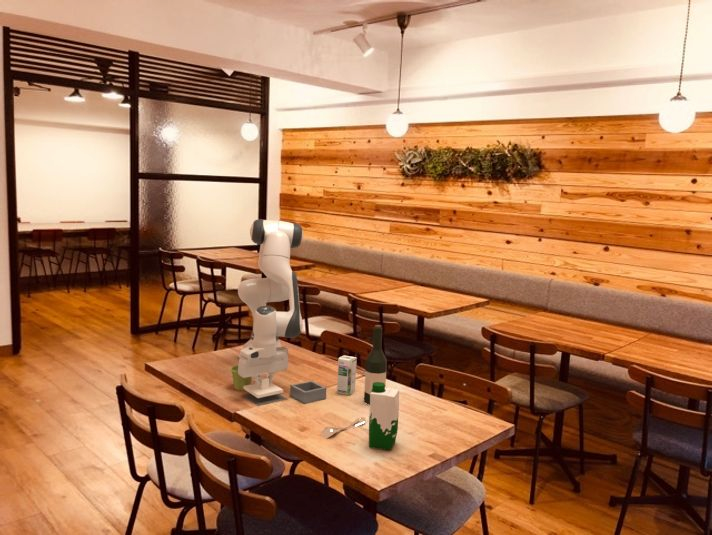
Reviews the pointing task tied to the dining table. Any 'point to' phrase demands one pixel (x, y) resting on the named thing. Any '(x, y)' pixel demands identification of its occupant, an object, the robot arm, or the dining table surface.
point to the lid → (263, 388)
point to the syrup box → (346, 375)
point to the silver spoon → (331, 430)
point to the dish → (308, 392)
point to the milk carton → (383, 416)
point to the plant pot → (239, 379)
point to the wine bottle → (375, 364)
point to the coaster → (264, 399)
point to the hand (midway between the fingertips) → (263, 384)
